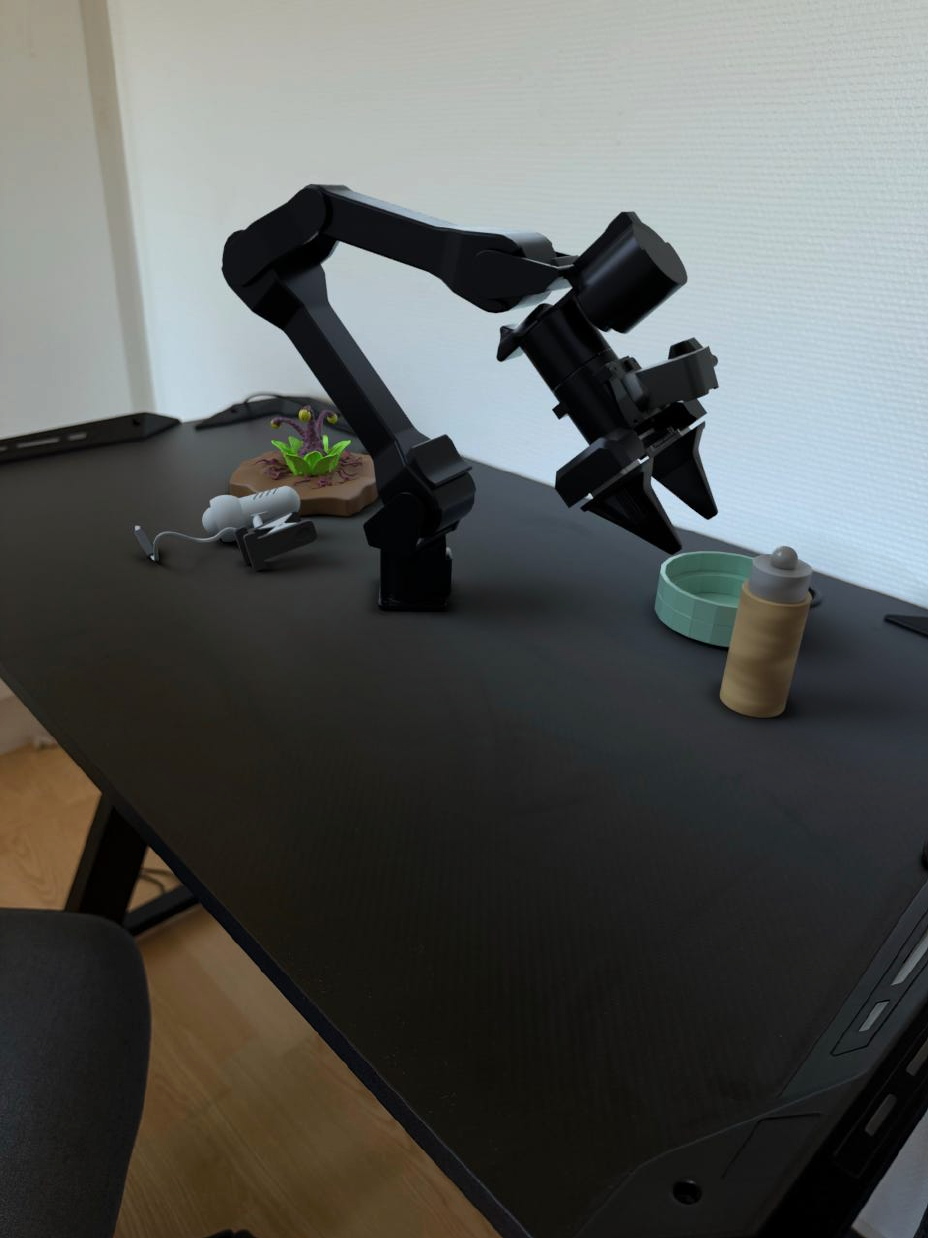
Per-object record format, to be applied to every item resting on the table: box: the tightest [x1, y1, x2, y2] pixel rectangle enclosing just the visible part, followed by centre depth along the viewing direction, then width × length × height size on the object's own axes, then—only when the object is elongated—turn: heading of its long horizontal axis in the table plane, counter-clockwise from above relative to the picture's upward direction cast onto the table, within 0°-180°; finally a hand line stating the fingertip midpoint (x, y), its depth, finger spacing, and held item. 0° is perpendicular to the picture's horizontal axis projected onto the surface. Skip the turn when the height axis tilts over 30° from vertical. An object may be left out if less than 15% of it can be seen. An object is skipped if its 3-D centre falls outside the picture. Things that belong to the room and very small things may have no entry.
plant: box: [229, 404, 379, 518], centre depth 112 cm, size 20×20×11 cm
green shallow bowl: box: [654, 550, 755, 648], centre depth 86 cm, size 13×13×4 cm
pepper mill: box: [719, 545, 814, 719], centre depth 71 cm, size 5×5×14 cm
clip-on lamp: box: [133, 486, 318, 572], centre depth 95 cm, size 12×6×18 cm
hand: (696, 533), depth 71 cm, fingers open, 9 cm apart
